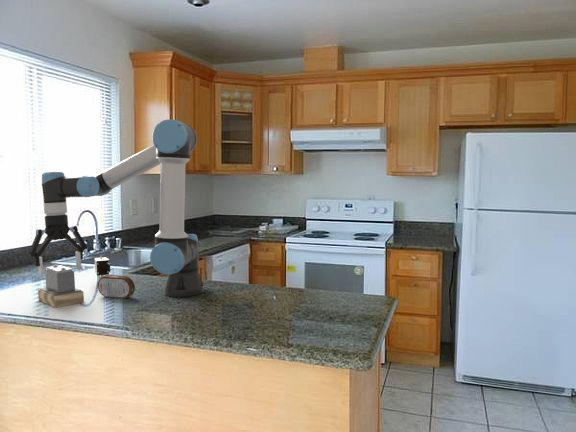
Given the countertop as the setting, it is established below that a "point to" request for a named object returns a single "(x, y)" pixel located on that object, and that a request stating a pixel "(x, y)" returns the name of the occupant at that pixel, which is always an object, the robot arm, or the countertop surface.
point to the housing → (60, 279)
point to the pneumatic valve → (102, 267)
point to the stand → (60, 297)
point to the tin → (116, 286)
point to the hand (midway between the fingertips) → (60, 271)
